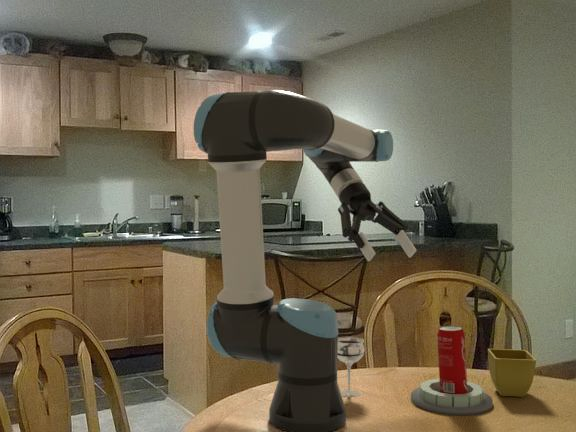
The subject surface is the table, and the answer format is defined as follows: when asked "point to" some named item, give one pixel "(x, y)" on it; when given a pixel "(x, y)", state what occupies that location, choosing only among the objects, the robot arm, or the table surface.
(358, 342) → the wineglass
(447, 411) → the can tray
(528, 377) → the flower pot
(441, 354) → the beverage can
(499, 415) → the table surface
